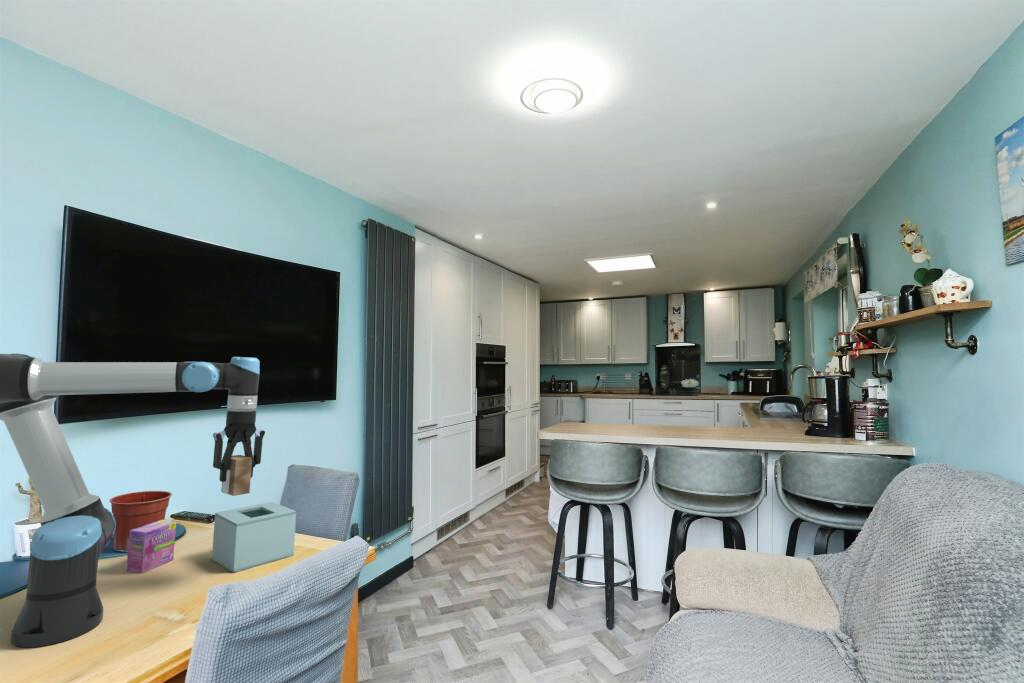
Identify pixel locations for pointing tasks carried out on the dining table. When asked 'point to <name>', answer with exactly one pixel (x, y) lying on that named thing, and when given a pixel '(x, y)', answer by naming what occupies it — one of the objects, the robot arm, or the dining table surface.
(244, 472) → the token
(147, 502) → the flower pot
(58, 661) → the dining table surface
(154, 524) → the box
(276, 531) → the posting box
